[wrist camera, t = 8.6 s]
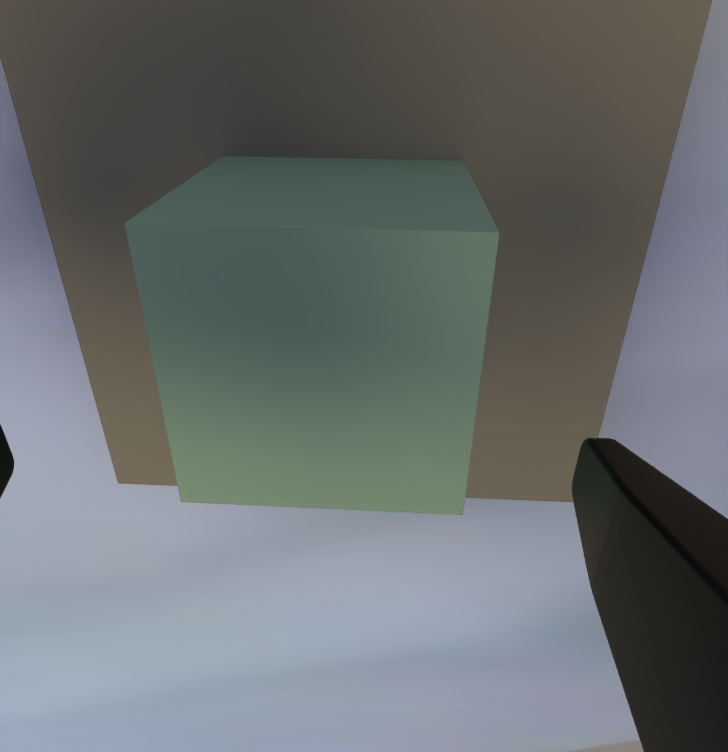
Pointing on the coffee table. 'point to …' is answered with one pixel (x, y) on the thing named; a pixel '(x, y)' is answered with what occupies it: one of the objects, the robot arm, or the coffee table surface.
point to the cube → (319, 329)
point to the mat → (370, 141)
